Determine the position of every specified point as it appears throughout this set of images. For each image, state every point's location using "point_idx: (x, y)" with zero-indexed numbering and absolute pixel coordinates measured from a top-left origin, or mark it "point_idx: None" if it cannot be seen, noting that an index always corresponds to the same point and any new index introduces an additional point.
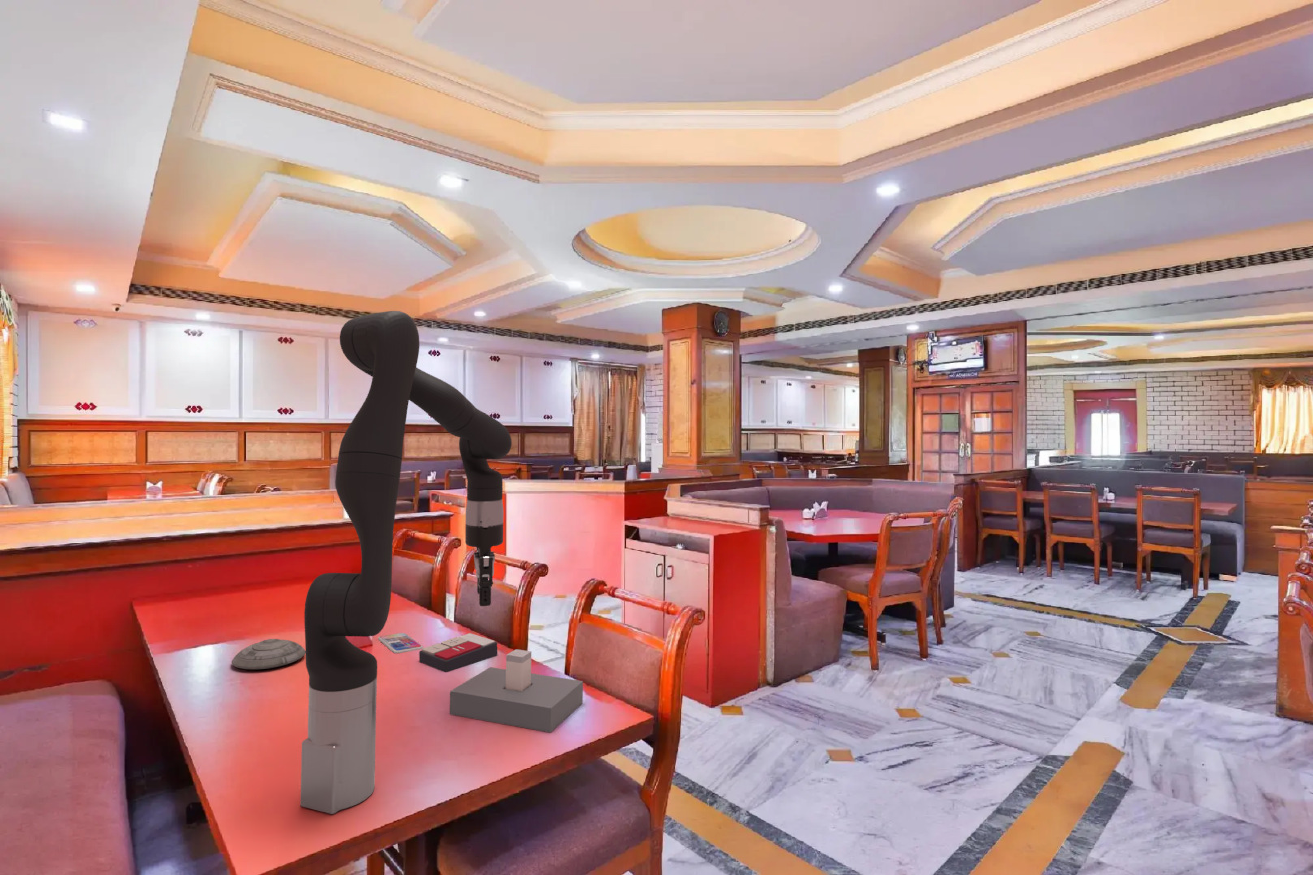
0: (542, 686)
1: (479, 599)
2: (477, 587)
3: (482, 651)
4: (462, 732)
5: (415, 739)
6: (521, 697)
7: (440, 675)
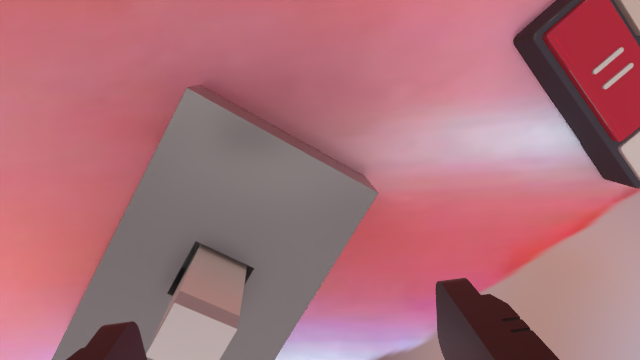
0: None
1: (81, 352)
2: (457, 304)
3: (598, 144)
4: (85, 131)
5: (44, 11)
6: (125, 293)
7: (490, 25)
